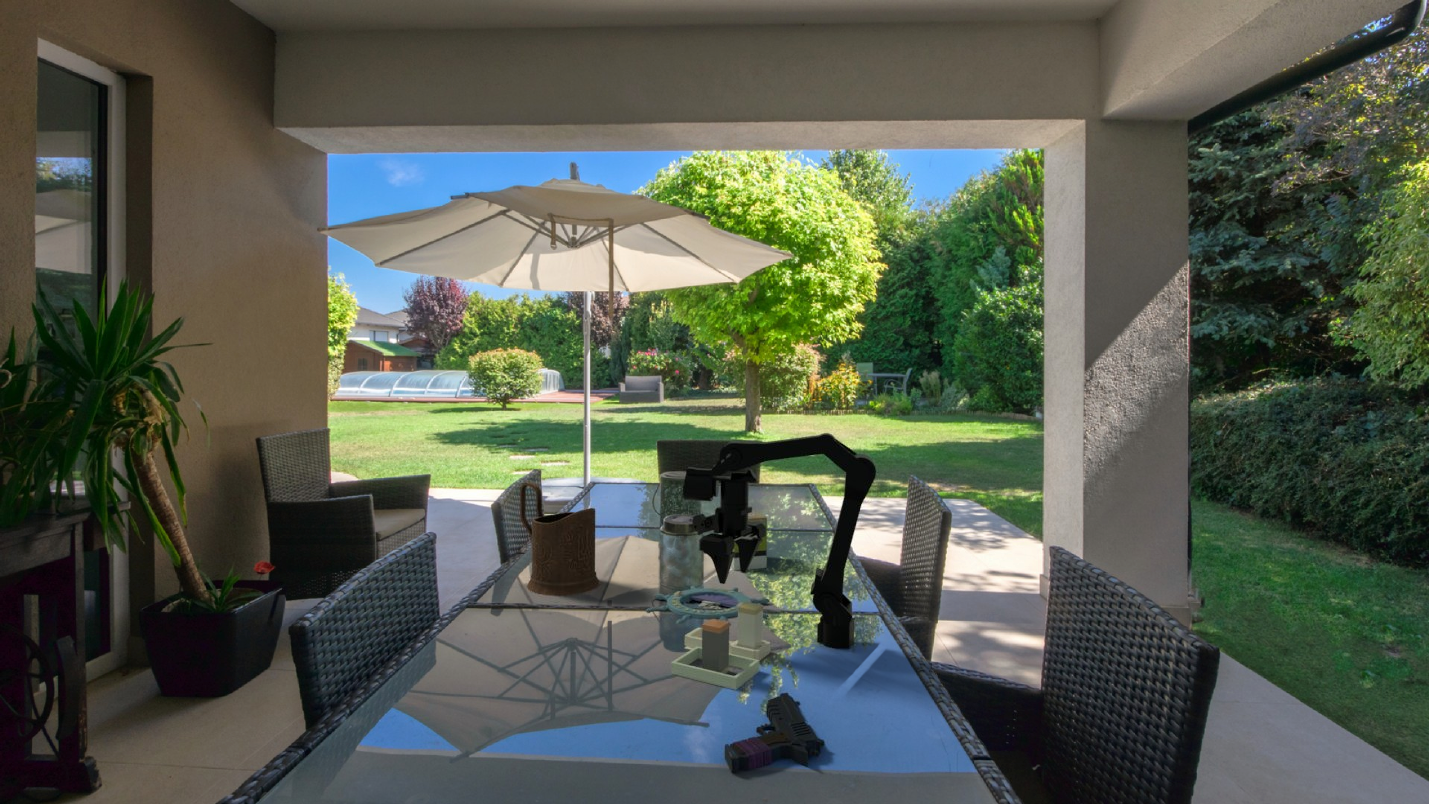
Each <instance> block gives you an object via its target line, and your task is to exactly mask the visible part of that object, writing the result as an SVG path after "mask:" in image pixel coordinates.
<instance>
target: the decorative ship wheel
mask: <svg viewBox="0 0 1429 804" xmlns="http://www.w3.org/2000/svg"><path fill="white" fill-rule="evenodd" d="M738 591H739V587H732V588H731V589H725V588H716V587H715V588H714V587H710V588H708V587H707V588H705V587H704V588H697V587H696V586H695V585H691V586H690V589H685V590H681V591H679V590H678V591H676V592H674V593H673V594H667V595H666V594H663V593H655V594H654V598H655V599H657V600H659V601H661V600H663V601H664V600H665V601H666V605H660V607H655V606H651V607H649V608H647V609H645V612H646V613H647V614H651V613H652V612H655V611H658V610H660V611H661V610H663V611H665V610H670V611H671V612H673V613H675V614H677V615H680V616H682V617H681V618H680V619H677V620H676V622H675V624H677V625H678V624H682V623H684V622H685V621H686V620H690V619H691V618H692V619H693V618H694V619H702V620H703V619H706V620H708V619H709V620H711V619H716V620H721V621H726V622H729V627H730V626H731V625H732V624H731V622H730V621H728V618H734V617H738V607H739V606H741V605H742V604H744V603H746V602H750V603H755V604H761V605H765V604H768V603H769V602H770V599H769V598H767V597H761V598H759V599H758V598H754V597H752V598H751V597H750V596H747V595H745V594H743V593H741V592H738ZM691 600H695V601H697V602H700V601H701V603H699V604H698V605H697V607H704V608H708V609H707V610H706V609H704V610H703V608H700V609H698V608H691V607H688V606H685V605H684V604H687V603H686V602H688V601H691ZM695 601H694V602H695ZM691 602H692V601H691ZM682 603H683V604H682ZM688 603H689V602H688ZM721 606H722V607H723V606H724V607H727V608H724V609H722V608H721ZM710 609H711V610H710ZM712 609H713V610H712ZM718 609H719V610H718ZM767 618H769V614H768V613H766V612H764V611H763V619H767Z"/></svg>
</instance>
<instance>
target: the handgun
mask: <svg viewBox="0 0 1429 804" xmlns="http://www.w3.org/2000/svg"><path fill="white" fill-rule="evenodd" d="M799 705H800V701H795V700H794V698H793V697H792V696H791V695H790V694H789V693H788V692H782V693H780V694H779V696H777V697H774V698H770V699H768V700H767V703H766V706H765V709H766V710H765V714H766V717H767V718H768V721H769V722H770V723H769V724H768V723H764V725H763V724H761V725H760V726H757V727H756V734H758V736H750V737H748V738H746V739H740V740H739V741H734V742H732V743H726V744H724V761H725V763H726V764H727V766H728V769H729V771H730V773H731V774H738V773H739V771H741V772H744V771H746V772H748V771H753V770H755V769H759V768H763V767H765V766H769V765H771V764H772V763H775V762H777V761H780V760H788V761H789V760H790V761H793V762H794V763H796V764H798V765H800V766H803V767H806V768H808V767H809V764H808V763H809V760H808V758H811V757H815V758H819V754H820V753H821V748H822V747H825V746H826V745H825V740H824V739H823V738H820V737H818V735H817V734H816V732H815V731H814V730H813V728H812V725H810V724H807V721H806V720H805V718H804V717H803V715H802V714H801V711H800V710H799V708H798V706H799Z"/></svg>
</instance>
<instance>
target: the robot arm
mask: <svg viewBox="0 0 1429 804" xmlns="http://www.w3.org/2000/svg"><path fill="white" fill-rule="evenodd" d="M818 455H824V456H825V457H826V458H828V460H830V461H831V462H832V463H834V464H835V466H837V467H838V468H839V469H841V470H842V471H843V472H845V476H844V477H845V478H844V492H843V499H842V503H841V507H840V511H839V515H838V518H837V523H836V525H835V526H836V527H835V530H834V534H833V538H832V542H831V546H830V549H829V552H828V556H827V561H826V563H825V565H824V566H823V568H819V567H818V566H817V567H816V568H815V575H814V581H812V583H811V585H810V591H809V592H810V593H809V595H811V596H812V604H813V606H814V608H815V609H816V610H817V612H819V613H820V614H821V616H820V617H819V622H818V623H817V624H816V625H817V627H816V628H817V631H816V633H817V634H816V642H817V643H819V644H820V645H823V646H825V647H827V648H830V649H835V650H850V649H851V648H852V647H853V646H855V621H856V620H855V619H856V618H855V617H853V602H852V601H851V600H850V599H849V598H848V597H847V596H846V595H845V594H844V593H843V592H844V577H845V569H846V566H847V560H848V556H849V553H850V549H851V546H852V541H853V539H854V535H855V530H856V527H857V523H858V520H859V516H860V512H861V509H862V505H863V503H864V501H865V499H866V498H867V496H868V494H869V492H870V490H871V487H872V485H873V483H874V481H875V479H876V476H877V470H876V469H877V468H876V465H875V462H874V460H873V458H871V457H870V456H869V455H867V454H864V453H857V452H855V451H854V450H853V449H852V448H850V447H848V445H845V443H843V442H841V441H840V440H839V439H837V438H836V437H835V436H834V435H833V434H831V433H829V432H824V433H821V434H817V435H810V436H800V437H795V438H794V437H793V438H785V439H779V440H778V439H777V440H771V441H757V440H746V439H745V440H744V439H743V440H742V439H735V440H731V441H730V442H728V443H726V444H725V445H723V446H722V448H721V449H720V452H719V455H718V456H719V459H718V461H717V462H716V464H713V466H712V468H699V467H695V466H694V467H692V466H688V467H686V470H685V475H684V476H685V477H684V482H683V485H682V496H683V500H684V501H690V502H691V501H692V502H693V501H694V502H695V501H696V502H713V500H714V497H716V498H717V497H718V496H719V491H720V498H719V499H720V505H719V506H717V507H716V508H715V510H714V514H711V515H707V516H706V515H705V514H704V513H700V514H697V515H694V516H692V521H691V523H692V525H691V529H692V530H693V531H695V532H696V534H697V536H702V537H701V538H700V539H699V540H698V550H699V551H701V552H702V553H703V554H705V555H707V556H708V557H710V559H711V561H712V562H713V566H714V570H715V572H716V576H717V579H718V582H719V584H721V585H725V584H726V582H727V579H728V576H729V573H730V570H731V564H732V561H733V557H734V554H735V552H733V549H734V547H735V543H736V544H737V545H738V550H739V562H740V570H739V571H740V573H742V574H746V573H747V571H748V567H749V565H750V563H751V561H752V559H753V557H754V555H755V553H756V551H757V549H758V547H759V545H760V543H761V542H762V541H763V539H762V538H763V537H765V536H766V527H765V526H764V525H763V523H758V522H751V521H748V513H750V512H752V509H753V506H749V493H750V492H749V488H750V487H749V484H750V483H756V482H757V481H758V480H759V476H758V475H757V474H756V473H755V472H754V471H753V470H752V468H750V467H753V466H756V465H758V464H762V463H765V462H771V461H778V460H785V459H794V458H802V457H809V456H818ZM747 468H749V469H748V470H747V471H746V472H739V471H740V470H743V469H747ZM727 472H731V474H730V475H725V473H727ZM712 531H713V532H712ZM707 532H712V533H708V534H705V533H707ZM719 533H722V535H721V534H719ZM703 534H705V535H703ZM757 537H758V538H757Z"/></svg>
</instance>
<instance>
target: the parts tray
mask: <svg viewBox="0 0 1429 804" xmlns="http://www.w3.org/2000/svg"><path fill="white" fill-rule="evenodd" d="M698 659H699V660H702V647H698V646H697V647H695V648H693V649H692V650H689V651H687V652H685V653H684V654H682V655H681V656H679V657H678V658H676V659H675V660H672V661H671V662H670V674H671V675H675V676H678V677H682V678H686V679H691V680H695V681H699V682H702V683H703V682H704V683H707V684H711V685H715V686H720V687H722V688H726V689H732V690H734V691H735V690H736V691H737V689H739V688H740V687H742V686H743V685H744V684H746V682H748V681H749V680H750V679H752V677H754V676H756V675H757V674H758V673H759V672H760V661H759V660H756V659H752V658H747V657H743V656H738V655H734V654H729V667H734V668H737V669H741V671H740V672H738V673H737V674H736V675H731V674H727V673H725V674H723V673H719V672H715V671H711V670H707V669H702V667H698V666H694V665H690V664H692V663H693V662H695V661H696V660H698Z"/></svg>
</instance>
